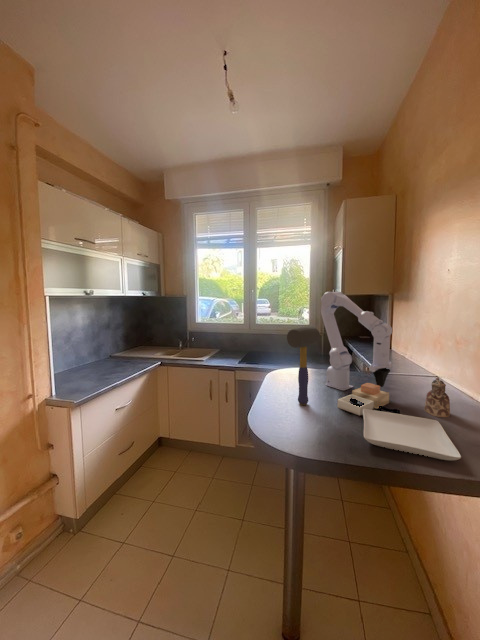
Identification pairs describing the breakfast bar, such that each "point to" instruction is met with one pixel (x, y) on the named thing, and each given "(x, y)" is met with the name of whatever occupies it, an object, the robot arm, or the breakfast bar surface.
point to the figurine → (437, 400)
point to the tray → (346, 405)
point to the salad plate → (408, 434)
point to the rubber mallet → (303, 355)
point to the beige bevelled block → (373, 397)
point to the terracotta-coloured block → (370, 388)
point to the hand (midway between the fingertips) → (380, 386)
